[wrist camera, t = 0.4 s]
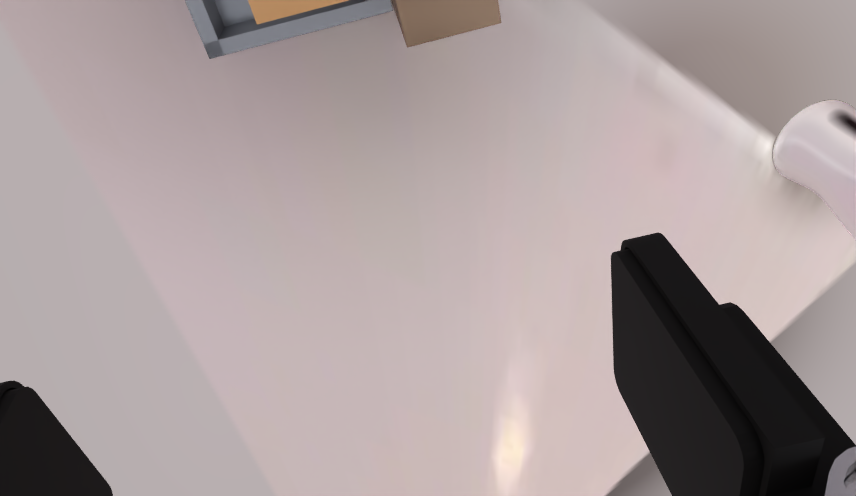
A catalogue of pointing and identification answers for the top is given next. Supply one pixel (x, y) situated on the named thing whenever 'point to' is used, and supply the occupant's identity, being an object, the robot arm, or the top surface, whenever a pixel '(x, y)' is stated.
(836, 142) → the beer glass
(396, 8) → the brown wooden block
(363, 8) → the tray
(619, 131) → the top surface
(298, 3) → the spacer block
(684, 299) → the robot arm
